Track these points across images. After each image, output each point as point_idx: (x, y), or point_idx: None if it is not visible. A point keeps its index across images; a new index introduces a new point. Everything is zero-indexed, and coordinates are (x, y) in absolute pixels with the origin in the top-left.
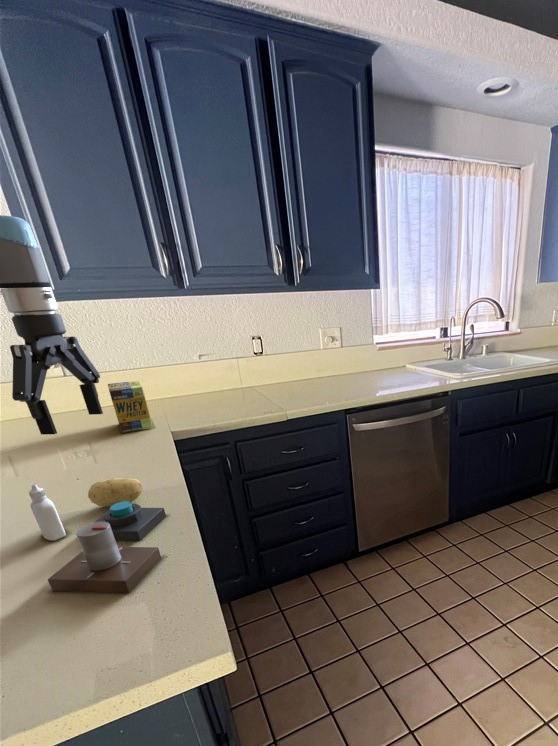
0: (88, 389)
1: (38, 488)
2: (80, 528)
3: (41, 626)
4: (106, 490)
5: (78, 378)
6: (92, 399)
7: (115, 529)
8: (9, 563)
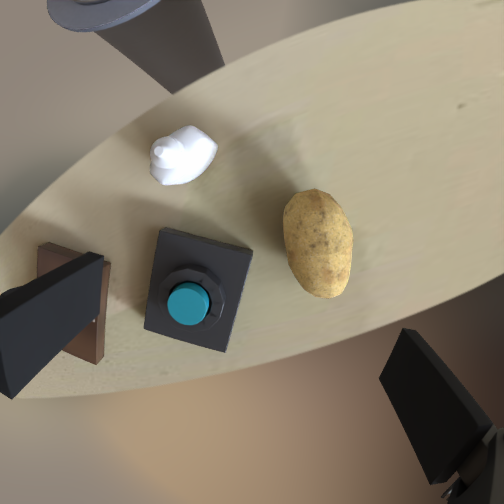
0: (437, 445)
1: (162, 160)
2: None
3: (9, 259)
4: (291, 242)
5: (488, 469)
6: (413, 409)
7: (153, 291)
8: (117, 132)
